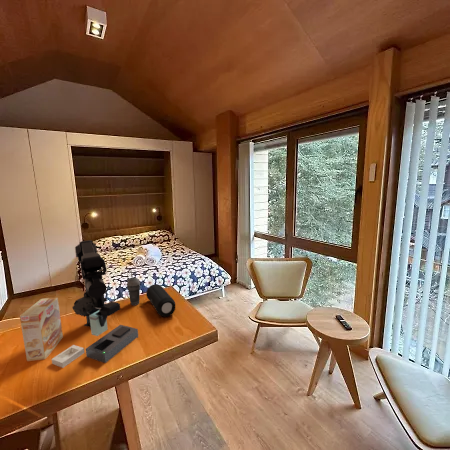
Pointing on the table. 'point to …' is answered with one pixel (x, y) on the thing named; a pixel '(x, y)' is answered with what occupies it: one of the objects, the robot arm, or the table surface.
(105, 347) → the panel
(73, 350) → the light grey tray
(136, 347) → the table surface
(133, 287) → the beverage cup
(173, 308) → the portable speaker
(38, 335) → the coffeecake box
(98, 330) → the plug
